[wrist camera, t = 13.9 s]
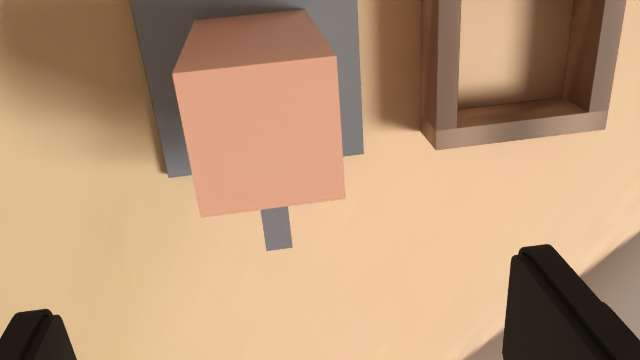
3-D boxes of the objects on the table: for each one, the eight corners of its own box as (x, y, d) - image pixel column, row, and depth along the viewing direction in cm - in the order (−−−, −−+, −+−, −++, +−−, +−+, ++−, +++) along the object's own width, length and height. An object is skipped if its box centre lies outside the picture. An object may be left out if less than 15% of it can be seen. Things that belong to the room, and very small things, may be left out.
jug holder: (602, -63, 31) (636, -60, 29) (577, 113, 36) (605, 129, 33) (421, -46, 30) (439, -42, 28) (420, 131, 35) (435, 150, 32)
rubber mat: (352, -55, 30) (354, -55, 29) (362, 150, 35) (363, 153, 35) (124, -35, 29) (122, -34, 28) (169, 174, 34) (168, 177, 34)
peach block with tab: (305, 9, 30) (336, 56, 20) (318, 159, 34) (349, 258, 24) (194, 20, 30) (172, 73, 20) (220, 171, 34) (212, 277, 24)
